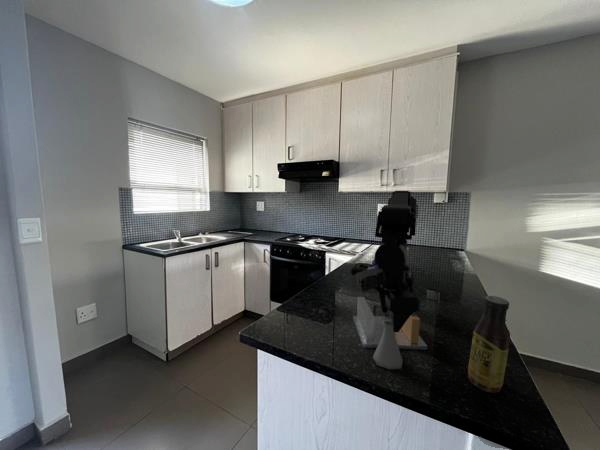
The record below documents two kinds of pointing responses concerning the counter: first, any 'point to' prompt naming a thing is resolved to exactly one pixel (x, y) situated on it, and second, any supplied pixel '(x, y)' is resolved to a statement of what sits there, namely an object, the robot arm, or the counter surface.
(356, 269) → the multimeter
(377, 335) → the vise base
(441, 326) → the counter surface
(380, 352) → the flask
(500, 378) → the sauce bottle
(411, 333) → the block
